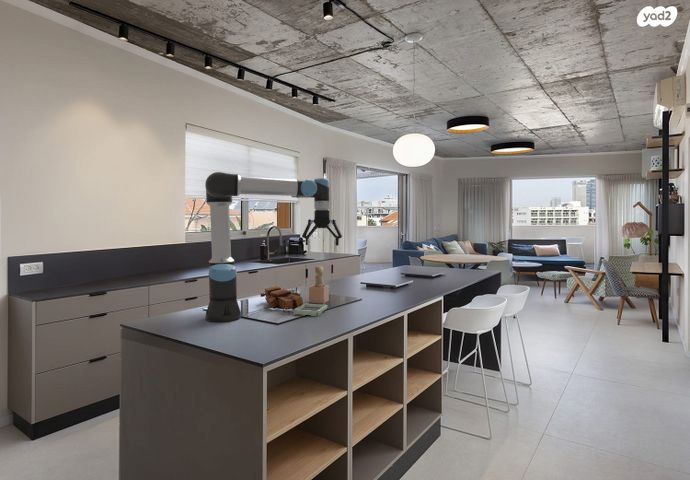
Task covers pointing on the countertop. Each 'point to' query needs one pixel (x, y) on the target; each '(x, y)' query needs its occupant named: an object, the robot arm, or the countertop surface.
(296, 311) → the tray
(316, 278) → the cream tall column
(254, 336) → the countertop surface
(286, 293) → the brown chunky pile
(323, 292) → the pink cube
